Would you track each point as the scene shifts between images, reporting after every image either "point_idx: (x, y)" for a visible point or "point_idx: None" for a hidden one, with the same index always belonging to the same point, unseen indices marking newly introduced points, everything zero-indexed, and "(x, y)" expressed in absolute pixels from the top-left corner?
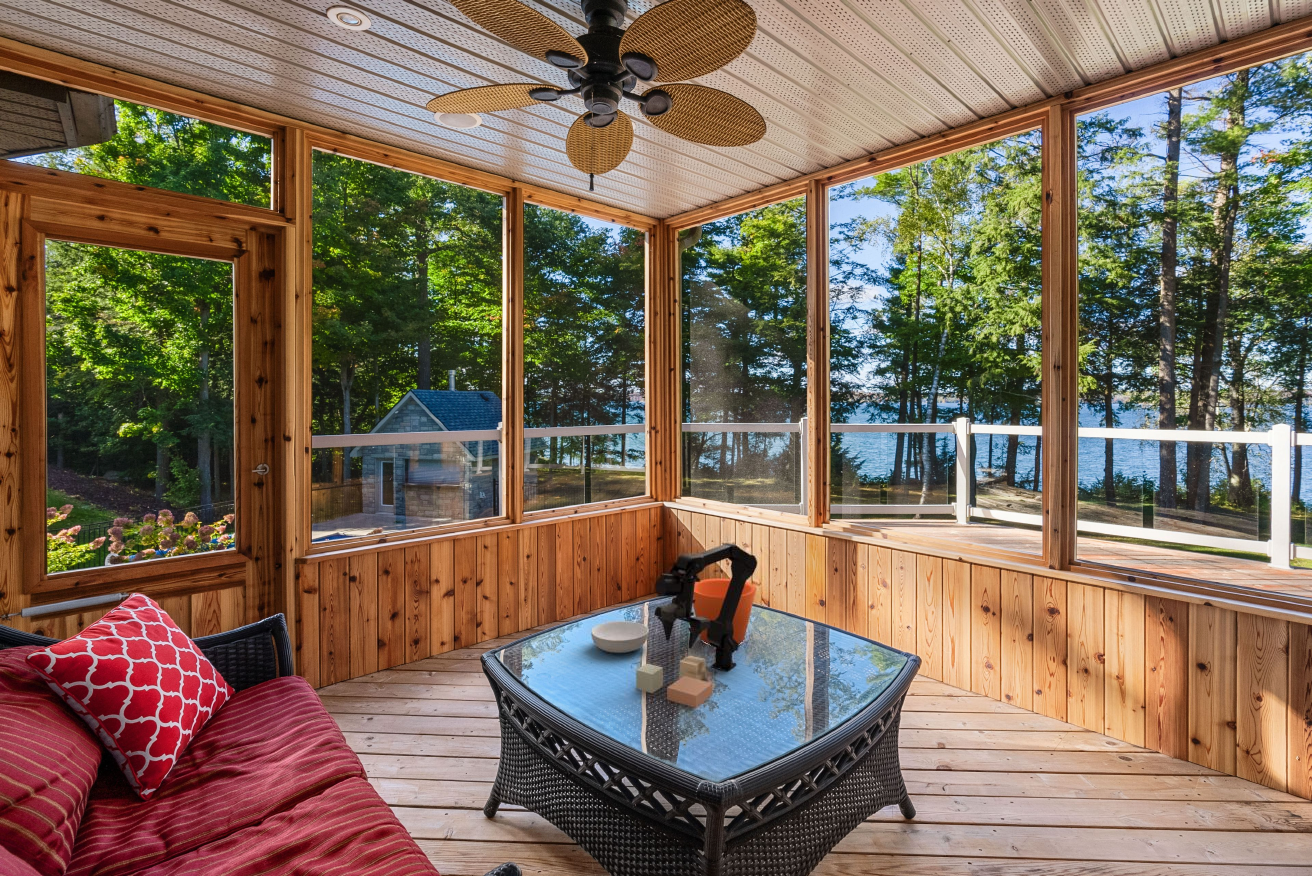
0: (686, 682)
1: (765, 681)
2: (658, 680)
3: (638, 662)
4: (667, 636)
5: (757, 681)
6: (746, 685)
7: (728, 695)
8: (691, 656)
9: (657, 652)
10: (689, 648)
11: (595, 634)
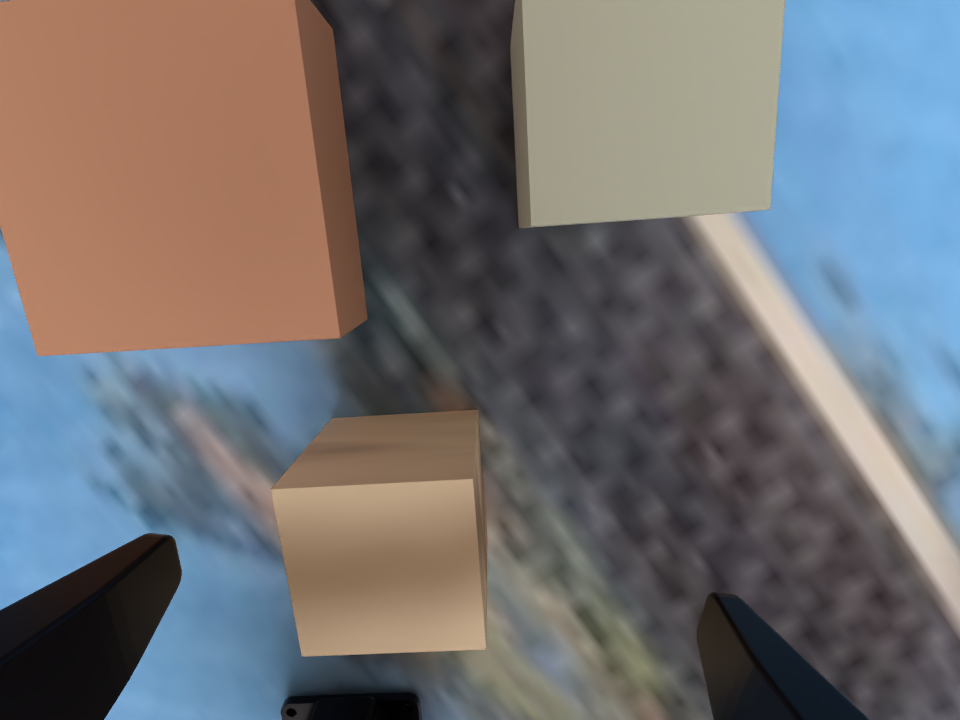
0: (224, 220)
1: None
2: (519, 142)
3: (945, 475)
4: (745, 663)
5: None
6: None
7: (32, 396)
8: (453, 640)
9: (894, 691)
10: (150, 535)
11: None
